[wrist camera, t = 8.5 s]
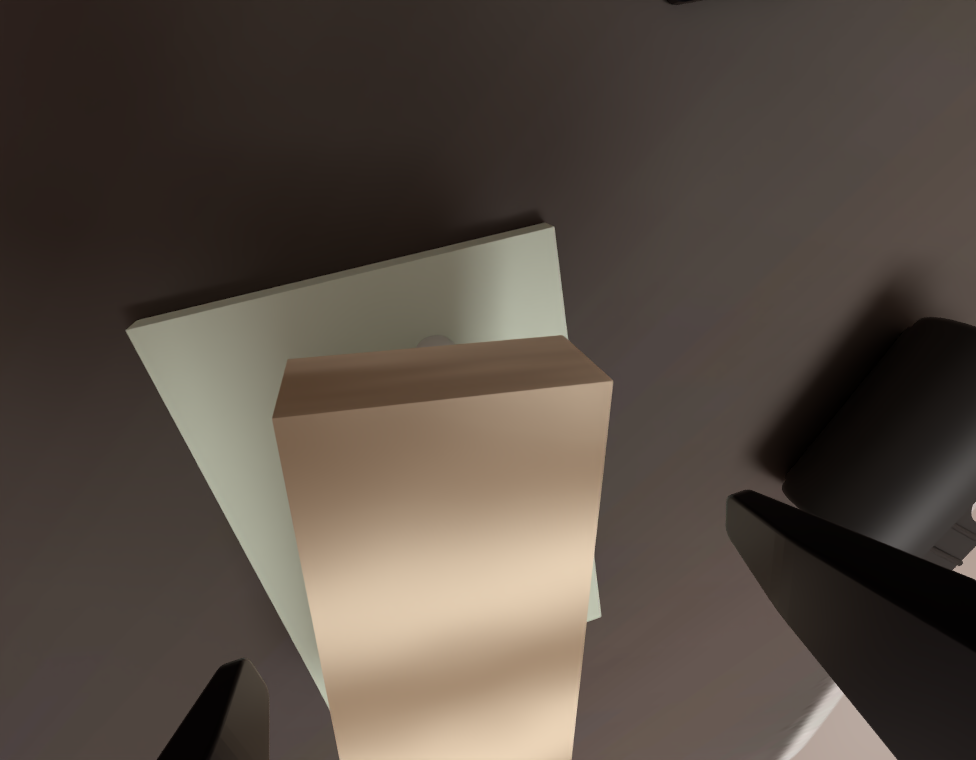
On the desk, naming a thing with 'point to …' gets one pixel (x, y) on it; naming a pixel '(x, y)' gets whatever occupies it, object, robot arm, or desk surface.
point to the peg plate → (322, 332)
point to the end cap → (903, 449)
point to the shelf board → (447, 541)
